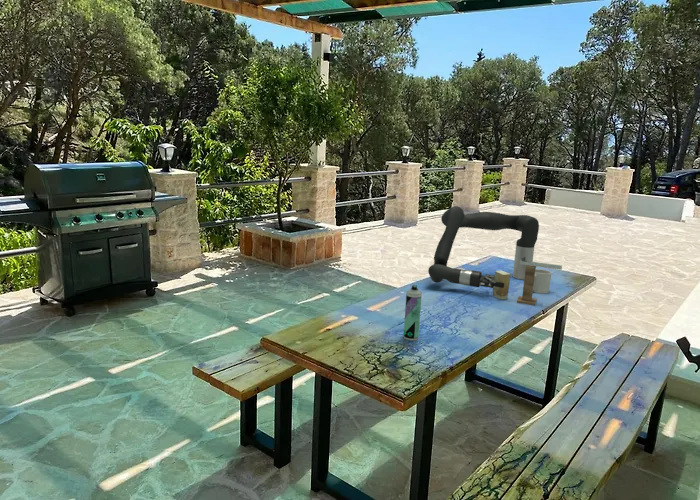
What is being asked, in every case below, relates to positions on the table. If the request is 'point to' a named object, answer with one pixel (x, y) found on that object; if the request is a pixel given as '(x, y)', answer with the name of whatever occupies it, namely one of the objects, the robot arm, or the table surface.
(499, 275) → the skincare box
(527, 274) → the post
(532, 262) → the latch bar
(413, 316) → the spray can
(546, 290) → the mug
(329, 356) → the table surface
